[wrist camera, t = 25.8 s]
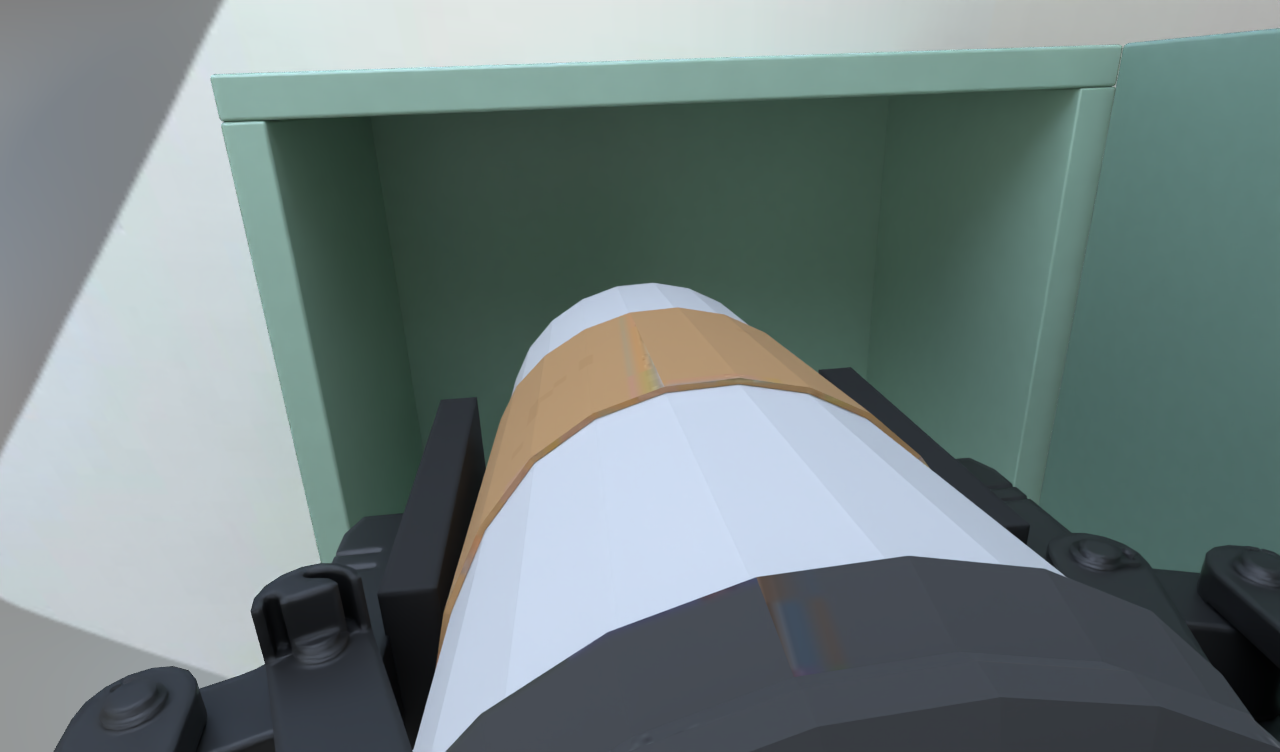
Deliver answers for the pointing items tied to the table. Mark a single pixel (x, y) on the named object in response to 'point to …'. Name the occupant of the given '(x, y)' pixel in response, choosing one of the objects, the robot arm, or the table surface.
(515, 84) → the green box
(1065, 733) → the coffee cup
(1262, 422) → the box lid
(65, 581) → the table surface
